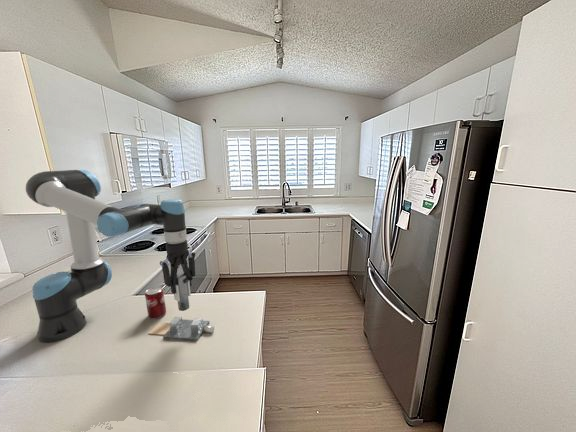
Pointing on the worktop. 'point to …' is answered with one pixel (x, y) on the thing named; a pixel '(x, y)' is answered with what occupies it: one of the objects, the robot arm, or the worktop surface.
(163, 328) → the cork mat
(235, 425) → the worktop surface
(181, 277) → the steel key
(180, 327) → the block
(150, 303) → the soda can
